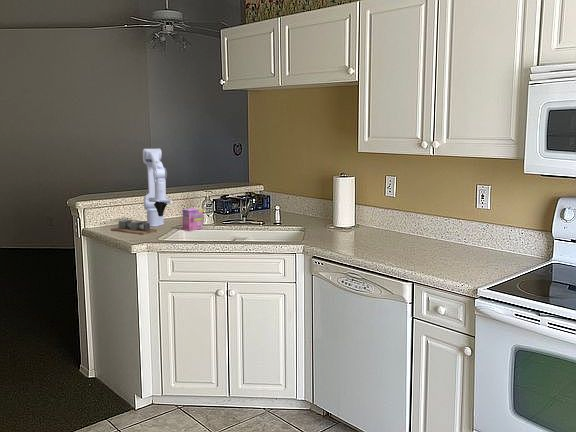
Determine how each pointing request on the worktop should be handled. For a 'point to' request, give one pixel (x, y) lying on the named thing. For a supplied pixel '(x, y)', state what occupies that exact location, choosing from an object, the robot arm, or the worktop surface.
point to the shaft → (140, 226)
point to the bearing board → (131, 227)
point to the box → (192, 219)
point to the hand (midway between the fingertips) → (160, 216)
